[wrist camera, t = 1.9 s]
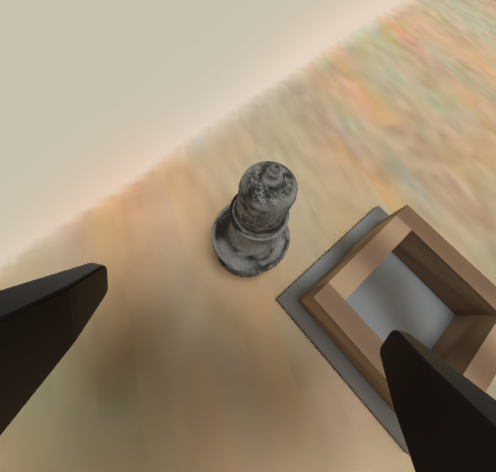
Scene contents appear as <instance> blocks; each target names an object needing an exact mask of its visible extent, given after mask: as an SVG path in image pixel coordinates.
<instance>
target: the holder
mask: <svg viewBox="0 0 496 472" xmlns="http://www.w3.org/2000/svg"><path fill="white" fill-rule="evenodd" d="M276 300H277V301H278V303H279V304H280V305H281V306H282V307H283V309H284V310H285V311H286V312H287V313H288V314H289V316H290V317H291V318H292V319H293V320H294V322H295V323H296V324H297V325H298V326H299V327H300V329H301V330H302V331H303V332H304V333H305V335H306V336H307V337H308V338H309V339H310V341H311V342H312V343H313V344H314V345H315V346H316V348H317V349H318V350H319V351H320V352H321V354H322V355H323V356H324V357H325V358H326V359H327V361H328V362H329V363H330V364H331V365H332V367H333V368H334V369H335V370H336V371H337V372H338V374H339V375H340V376H341V377H342V378H343V380H344V381H345V382H346V383H347V384H348V386H349V387H350V388H351V389H352V390H353V391H354V393H355V394H356V395H357V396H358V397H359V399H360V400H361V401H362V402H363V403H364V404H365V406H366V407H367V408H368V409H369V410H370V412H371V413H372V414H373V415H374V416H375V418H376V419H377V420H378V421H379V422H380V423H381V425H382V426H383V427H384V428H385V429H386V431H387V432H388V433H389V434H390V435H391V436H392V438H393V439H394V440H395V441H396V442H397V444H398V445H399V446H400V447H401V448H402V449H403V451H404V452H405V453H407V454H408V455H409V456H410V454H409V451H408V448H407V446H406V443H405V440H404V437H403V434H402V431H401V428H400V425H399V422H398V420H397V417H396V414H395V410H394V407H393V404H392V400H391V396H390V392H389V389H388V385H387V381H386V377H385V373H384V369H383V365H382V361H381V357H380V348H381V345H382V344H383V343H384V341H385V340H386V338H387V337H388V335H389V334H390V332H391V331H393V330H400V331H404V332H407V333H409V334H411V335H412V336H413V337H415V338H416V339H417V340H418V341H420V342H421V343H422V344H424V345H425V346H426V347H427V348H429V349H430V350H431V351H433V352H434V353H435V354H436V355H438V356H439V357H440V358H442V359H443V360H444V361H446V362H447V363H448V364H449V365H451V366H452V367H453V368H455V369H456V370H457V371H458V372H460V373H461V374H462V375H464V376H465V377H466V378H467V379H469V380H470V381H471V382H473V383H474V384H475V385H476V386H478V387H479V388H480V389H482V390H483V391H484V392H486V390H487V388H488V387H489V385H490V383H491V382H492V380H493V378H494V376H495V375H496V286H495V285H494V284H492V283H491V282H490V281H489V280H488V279H487V278H486V277H485V276H484V275H483V274H482V273H481V272H480V271H478V270H477V269H476V268H475V267H474V266H473V265H472V264H471V263H470V262H469V261H468V260H467V259H465V258H464V257H463V256H462V255H461V254H460V253H459V252H458V251H457V250H456V249H455V248H454V247H453V246H451V245H450V244H449V243H448V242H447V241H446V240H445V239H444V238H443V237H442V236H441V235H440V234H439V233H437V232H436V231H435V230H434V229H433V228H432V227H431V226H430V225H429V224H428V223H427V222H426V221H424V220H423V219H422V218H421V217H420V216H419V215H418V214H417V213H416V212H415V211H414V210H413V209H412V208H410V207H409V206H408V205H406V206H404V207H403V208H401V209H399V210H398V211H396V212H395V213H393V214H391V215H390V216H389V215H388V214H387V213H386V212H385V211H384V210H383V209H381V208H380V207H379V206H377V207H376V208H374V209H373V210H372V211H371V212H370V213H369V214H368V215H367V216H366V217H365V218H364V219H363V220H361V221H360V222H359V223H358V224H357V225H356V226H355V227H354V228H353V229H352V230H351V231H350V232H348V233H347V234H346V235H345V236H344V237H343V238H342V239H341V240H340V241H339V242H338V243H337V244H335V245H334V246H333V247H332V248H331V249H330V250H329V251H328V252H327V253H326V254H325V255H324V256H322V257H321V258H320V259H319V260H318V261H317V262H316V263H315V264H314V265H313V266H312V267H311V268H309V269H308V270H307V271H306V272H305V273H304V274H303V275H302V276H301V277H300V278H299V279H298V280H296V281H295V282H294V283H293V284H292V285H291V286H290V287H289V288H288V289H287V290H286V291H285V292H283V293H282V294H281V295H280V296H279V297H278V298H277V299H276Z"/></svg>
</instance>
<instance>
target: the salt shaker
mask: <svg viewBox="0 0 496 472" xmlns="http://www.w3.org/2000/svg"><path fill="white" fill-rule="evenodd" d="M297 191H298V187H297V181H296V179H295V177H294V175H293V174H292V172H291V171H290V170H289V169H288V168H287V167H285V166H284V165H282V164H280V163H276V162H271V161H265V162H259V163H256V164H254V165H252V166H251V167H249V168H248V169H247V170H246V171H245V173H244V174H243V176H242V178H241V180H240V183H239V190H238V194H237V195H236V196H235V197H234V198H233V200H232V201H231V204H229V205H228V206H226V207H225V208H224V209H223V210H222V211H221V212H220V213H219V215H218V216H217V217H216V219H215V222H214V225H213V227H212V241H213V245H214V249H215V250H216V252H217V254H218V258H219V260H220V262H221V264H222V265H223V266H224V267H225V268H226V269H227V271H229V272H231V273H232V274H234V275H237V276H240V277H253V276H257V275H259V274H261V273H263V272H265V271H268V270H269V269H271V268H273V267H275V266H276V265H277V264H278V263H279V262H280V261H281V260H282V259H283V258H284V256H285V254H286V252H287V250H288V246H289V241H290V238H289V229H288V226H287V224H288V220H289V209H290V208H291V206H292V205H293V203H294V201H295V200H296V196H297Z"/></svg>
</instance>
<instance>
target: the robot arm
mask: <svg viewBox="0 0 496 472" xmlns="http://www.w3.org/2000/svg"><path fill="white" fill-rule="evenodd" d="M107 289H108V280H107V268H106V266H104V265H101V264H96V263H88V264H85V265H82V266H78V267H75V268H72V269H69V270H65V271H62V272H59V273H56V274H52V275H49V276H46V277H43V278H39V279H36V280H33V281H30V282H26V283H23V284H20V285H17V286H13V287H10V288H7V289H4V290H0V435H1V434H2V433H3V431H4V430H5V429H6V428H7V426H8V425H9V424H10V423H11V421H12V420H13V419H14V418H15V416H16V415H17V414H18V413H19V411H20V410H21V409H22V408H23V406H24V405H25V404H26V403H27V401H28V400H29V399H30V398H31V396H32V395H33V394H34V392H35V391H36V390H37V389H38V387H39V386H40V385H41V384H42V382H43V381H44V380H45V379H46V377H47V376H48V375H49V374H50V372H51V371H52V370H53V369H54V367H55V366H56V365H57V364H58V362H59V361H60V360H61V359H62V357H63V356H64V355H65V354H66V352H67V351H68V350H69V349H70V347H71V346H72V345H73V343H74V342H75V341H76V339H77V338H78V336H79V335H80V333H81V332H82V330H83V329H84V327H85V326H86V324H87V323H88V321H89V320H90V318H91V316H92V315H93V313H94V312H95V310H96V309H97V307H98V306H99V304H100V303H101V301H102V300H103V298H104V296H105V295H106V293H107ZM380 357H381V361H382V365H383V369H384V373H385V377H386V381H387V385H388V389H389V392H390V396H391V400H392V404H393V407H394V410H395V414H396V417H397V420H398V422H399V425H400V428H401V431H402V434H403V437H404V440H405V443H406V446H407V448H408V451H409V454H410V457H411V460H412V463H413V466H414V469H415V471H416V472H496V400H495V399H493V398H492V397H491V396H489V395H488V394H487V393H486V392H484V391H483V390H482V389H480V388H479V387H478V386H476V385H475V384H474V383H473V382H471V381H470V380H469V379H467V378H466V377H465V376H464V375H462V374H461V373H460V372H458V371H457V370H456V369H455V368H453V367H452V366H451V365H449V364H448V363H447V362H446V361H444V360H443V359H442V358H440V357H439V356H438V355H436V354H435V353H434V352H433V351H431V350H430V349H429V348H427V347H426V346H425V345H424V344H422V343H421V342H420V341H418V340H417V339H416V338H415V337H413V336H412V335H411V334H409V333H407V332H404V331H400V330H393V331H391V332H390V334H389V335H388V337H387V338H386V340H385V341H384V343H383V344H382V345H381V348H380Z"/></svg>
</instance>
